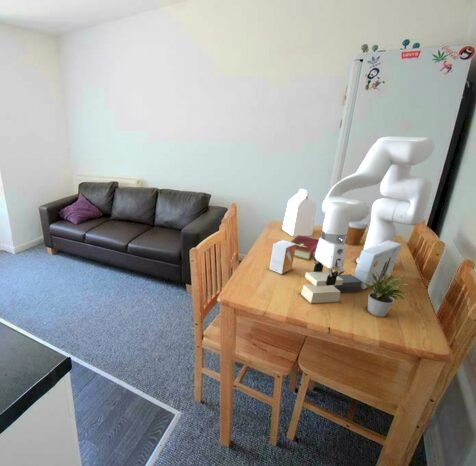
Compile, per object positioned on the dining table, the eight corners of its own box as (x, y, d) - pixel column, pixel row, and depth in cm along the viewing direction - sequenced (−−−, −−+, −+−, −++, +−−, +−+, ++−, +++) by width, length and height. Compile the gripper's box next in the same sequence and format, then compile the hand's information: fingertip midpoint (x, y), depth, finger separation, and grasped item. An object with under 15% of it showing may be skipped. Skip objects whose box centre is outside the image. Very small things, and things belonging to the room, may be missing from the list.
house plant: (349, 316, 109) (360, 275, 104) (347, 297, 120) (357, 259, 114) (401, 329, 102) (416, 286, 96) (394, 307, 113) (407, 268, 107)
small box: (281, 274, 139) (286, 248, 134) (268, 269, 144) (272, 243, 139) (291, 269, 143) (296, 243, 138) (279, 264, 148) (283, 239, 143)
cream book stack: (327, 292, 124) (330, 283, 122) (338, 301, 118) (341, 291, 116) (301, 294, 124) (302, 284, 122) (310, 303, 118) (312, 293, 116)
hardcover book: (321, 246, 164) (322, 239, 163) (309, 260, 151) (310, 252, 149) (297, 241, 172) (298, 234, 171) (283, 253, 159) (284, 246, 157)
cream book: (329, 275, 121) (330, 270, 121) (342, 285, 115) (343, 279, 114) (304, 277, 121) (305, 272, 120) (316, 286, 115) (317, 281, 114)
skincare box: (364, 290, 124) (375, 254, 119) (350, 284, 129) (359, 249, 123) (392, 277, 133) (402, 243, 128) (377, 272, 138) (387, 239, 132)
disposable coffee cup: (342, 238, 174) (346, 218, 170) (363, 241, 169) (368, 221, 165) (341, 244, 167) (346, 223, 163) (362, 247, 162) (368, 226, 158)
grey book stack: (348, 283, 130) (350, 274, 128) (359, 291, 124) (362, 281, 122) (323, 284, 130) (325, 275, 128) (333, 292, 124) (335, 283, 122)
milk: (312, 235, 180) (320, 191, 170) (292, 236, 179) (300, 192, 170) (300, 228, 191) (307, 187, 182) (282, 229, 191) (288, 187, 181)
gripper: (361, 245, 103) (349, 291, 110) (327, 227, 120) (318, 268, 126) (339, 246, 103) (328, 292, 110) (308, 228, 119) (300, 269, 126)
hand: (323, 279), depth 118 cm, fingers closed on cream book, 7 cm apart
